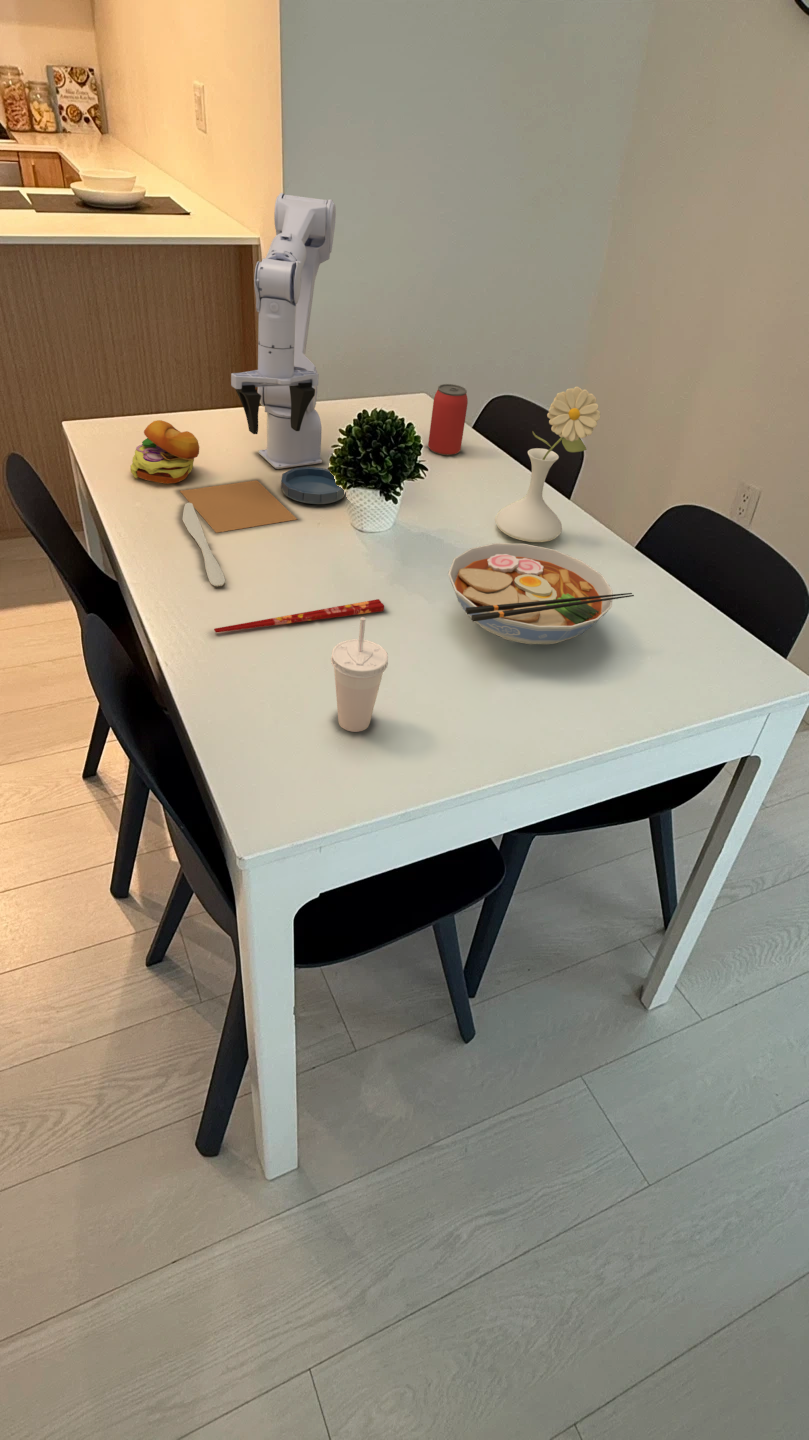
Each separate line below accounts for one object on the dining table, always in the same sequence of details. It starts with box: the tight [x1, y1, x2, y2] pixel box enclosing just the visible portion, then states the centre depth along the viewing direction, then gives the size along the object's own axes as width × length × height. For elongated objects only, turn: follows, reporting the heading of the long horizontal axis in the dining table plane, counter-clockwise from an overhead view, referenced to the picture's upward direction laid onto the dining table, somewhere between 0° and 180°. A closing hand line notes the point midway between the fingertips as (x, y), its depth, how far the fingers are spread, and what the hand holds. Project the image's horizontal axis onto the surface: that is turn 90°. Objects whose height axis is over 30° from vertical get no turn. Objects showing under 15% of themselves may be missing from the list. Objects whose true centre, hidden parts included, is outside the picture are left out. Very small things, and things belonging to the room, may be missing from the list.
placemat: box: [179, 479, 298, 534], centre depth 144 cm, size 14×16×1 cm
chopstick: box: [213, 598, 385, 634], centre depth 118 cm, size 2×24×1 cm, turn 116°
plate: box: [280, 466, 345, 505], centre depth 149 cm, size 11×11×2 cm
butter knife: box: [181, 502, 226, 587], centre depth 132 cm, size 1×27×3 cm
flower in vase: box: [494, 386, 601, 543], centre depth 139 cm, size 13×11×25 cm
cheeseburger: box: [130, 419, 200, 485], centre depth 148 cm, size 10×11×10 cm
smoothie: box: [330, 616, 389, 733], centre depth 98 cm, size 6×6×14 cm
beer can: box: [427, 383, 469, 456], centre depth 169 cm, size 7×7×12 cm
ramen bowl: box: [447, 542, 635, 645], centre depth 120 cm, size 25×23×8 cm
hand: (274, 430), depth 145 cm, fingers open, 7 cm apart
